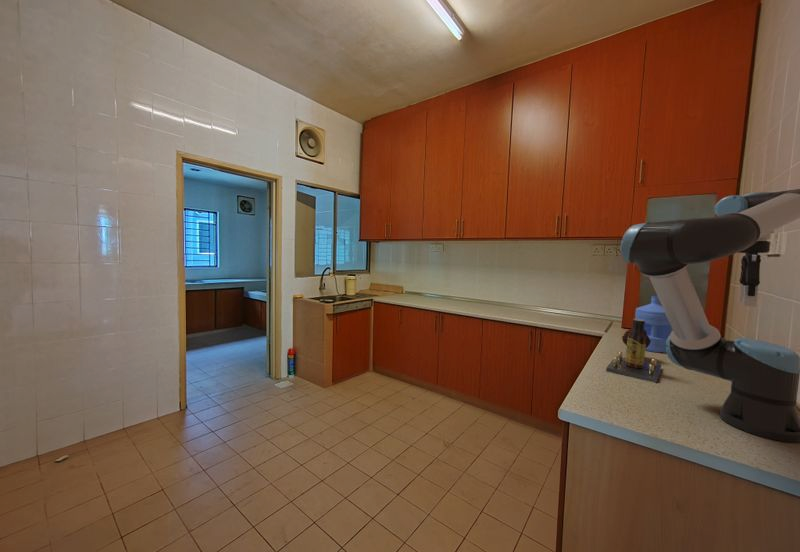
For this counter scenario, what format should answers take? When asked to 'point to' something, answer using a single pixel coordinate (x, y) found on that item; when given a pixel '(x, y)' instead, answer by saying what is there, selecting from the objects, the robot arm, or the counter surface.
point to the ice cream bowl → (628, 335)
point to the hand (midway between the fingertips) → (746, 304)
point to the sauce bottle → (636, 345)
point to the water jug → (655, 325)
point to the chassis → (635, 369)
